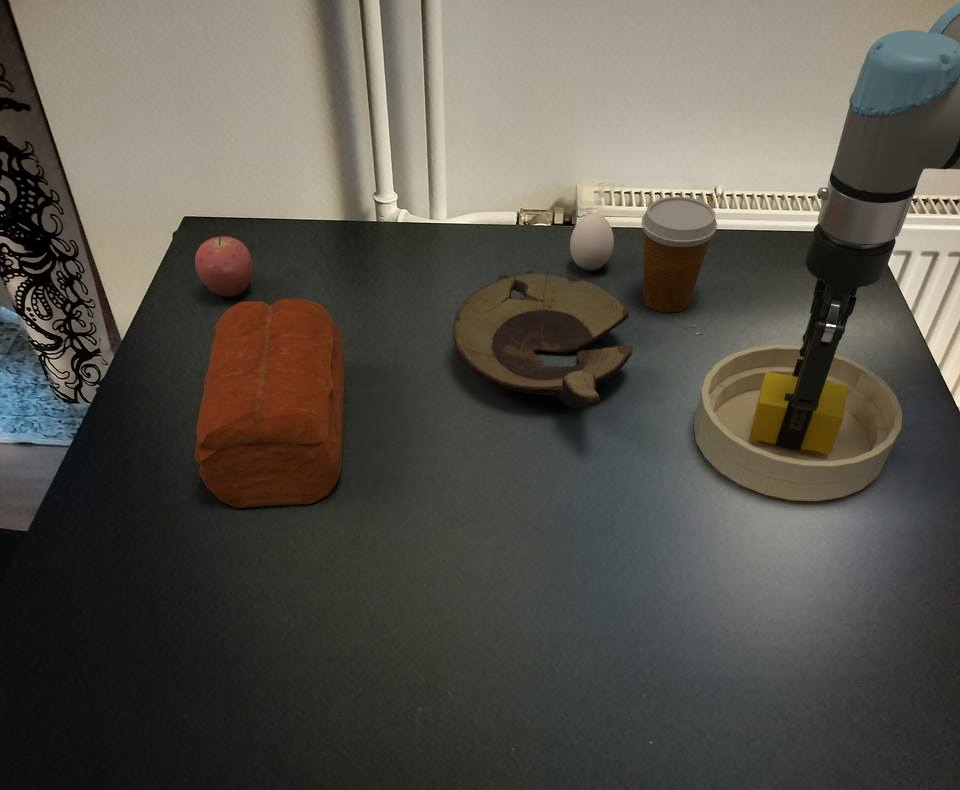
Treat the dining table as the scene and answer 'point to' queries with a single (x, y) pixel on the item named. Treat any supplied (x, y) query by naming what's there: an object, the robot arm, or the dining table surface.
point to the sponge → (822, 420)
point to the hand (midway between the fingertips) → (791, 427)
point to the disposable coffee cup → (674, 250)
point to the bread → (272, 405)
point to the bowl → (786, 470)
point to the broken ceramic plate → (541, 335)
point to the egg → (592, 242)
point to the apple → (224, 265)
